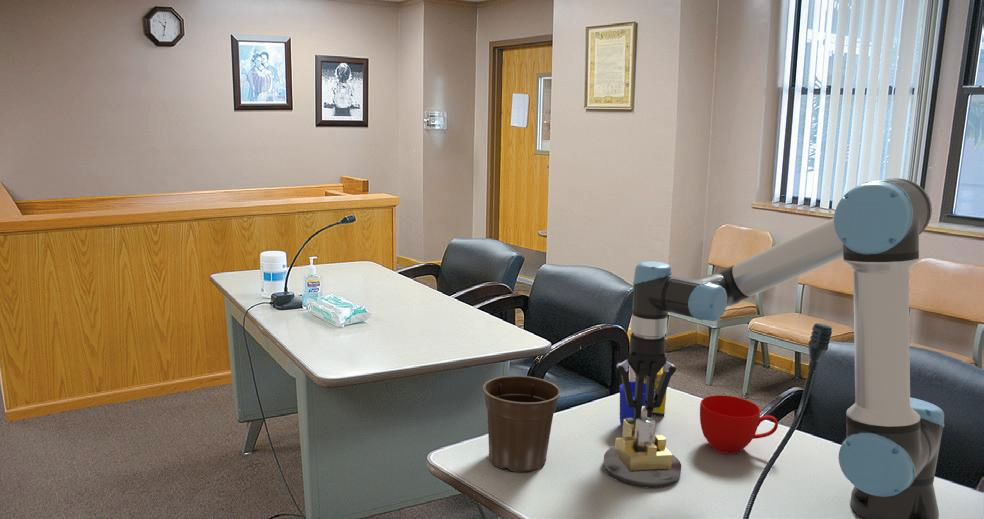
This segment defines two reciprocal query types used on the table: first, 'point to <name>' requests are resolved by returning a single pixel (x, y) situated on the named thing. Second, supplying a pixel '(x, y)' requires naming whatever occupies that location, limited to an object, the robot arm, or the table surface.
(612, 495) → the table surface
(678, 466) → the round base with post
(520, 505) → the table surface
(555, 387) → the plant pot
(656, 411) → the supplement box
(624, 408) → the mug
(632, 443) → the yellow stepped block
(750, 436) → the ceramic cup
